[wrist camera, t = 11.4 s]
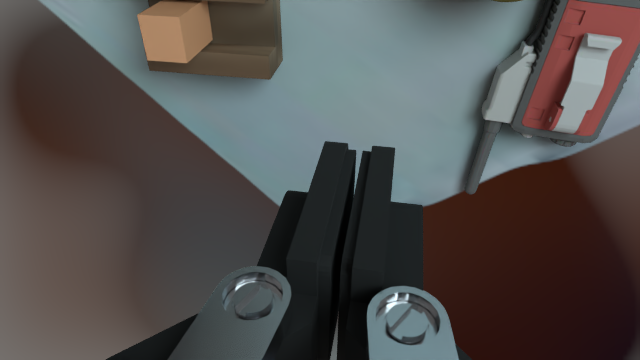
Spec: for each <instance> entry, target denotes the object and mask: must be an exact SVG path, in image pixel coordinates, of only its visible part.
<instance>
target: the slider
mask: <svg viewBox="0 0 640 360" xmlns="http://www.w3.org/2000/svg"><path fill="white" fill-rule="evenodd" d="M137 16H138V20H139V25H140V29H141V34H142V38H143V42H144V47H145V51H146V56H147V60H149V61H163V62H177V63H188V62H189V61H190V60H191V59H192V58H193V57H194V56H196V55H197V54H198V53H199V52H200V51H201V50H202V49H203V48H204V47H205V46H207V45H208V44H209V43H210V42H211V41H212V40H213V38H212V31H211V23H210V16H209V9H208V2H207V1H202V0H162V1H160V2H158V3H157V4H155V5H153V6H151V7H150V8H148V9H146V10H145V11H143V12H141V13H139V14H138V15H137Z"/></svg>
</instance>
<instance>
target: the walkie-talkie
mask: <svg viewBox="0 0 640 360" xmlns="http://www.w3.org/2000/svg"><path fill="white" fill-rule="evenodd" d="M535 39H536V41H535V42H534V43H533V41H534V40H535ZM532 44H533V45H534V46H533V45H532ZM639 53H640V0H546V2H545V5H544V8H543V10H542V13H541V16H540V19H539V21H538V24H537V26H536V28H535V30H534V32H533V33H532V34H531V35H530V36H529V37H528V39H527V40H526V41H522V43H521V46H520V48H519V49H518V50H517V51H516V52H514V53H513V54H512V55H511V56H509V57H508V58H507V59H505V60H504V61H503V62H502V63H500V64H499V65H498V66H497V69H496V72H495V75H494V78H493V81H492V84H491V87H490V90H489V93H488V96H487V99H486V100H485V101H484V103H483V106H482V109H481V110H482V115H483V118H484V119H485V120H486V121H485V124H484V127H483V128H484V132H483V135H482V138H481V141H480V144H479V147H478V150H477V153H476V156H475V159H474V162H473V165H472V168H471V171H470V174H469V177H468V180H467V183H466V186H465V191H466V192H467V193H468V194H473V193H474V192H476V190H477V187H478V184H479V181H480V178H481V176H482V173H483V170H484V167H485V164H486V162H487V159H488V156H489V153H490V150H491V148H492V145H493V142H494V139H495V136H496V134H497V133H498V132H499V131H500V128H501V125H502V122H504V123H510V124H511V125H510V127H511V128H513V129H514V131H517V132H520V133H522V135H523V136H524V137H526V138H531V137H532V136H533V135H534V136H541V137H547V138H550V139H551V140H552V141H553V142H554V143H556V144H559V145H561V146H573V145H575V144H576V143H577V142H579V143H591V142H592V141H594V140H595V139H597V138H598V136H599V134H600V132H601V130H602V128H603V126H604V124H605V122H606V120H607V118H608V116H609V114H610V112H611V110H612V108H613V106H614V104H615V102H616V100H617V99H618V97H619V95H620V93H621V91H622V89H623V84H624V83H625V82H626V81H627V80H626V79H627V77H628V75H630V71H631V69H632V68H633V67H634V63H635V61H636V60H637V59H638V58H637V57H638V55H639Z"/></svg>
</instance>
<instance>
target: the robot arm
mask: <svg viewBox="0 0 640 360" xmlns="http://www.w3.org/2000/svg"><path fill="white" fill-rule="evenodd" d="M394 156H395V148H391V147H381V146H372V151H371V152H370V151H363V153H362V158H361V163H360V168H359V173H358V179H357V184H356V189H355V194H354V183H355V165H356V150H349V149H348V143H338V142H327V141H326V142H325V143H324V146H323V149H322V152H321V155H320V158H319V161H318V164H317V167H316V170H315V173H314V176H313V179H312V182H311V185H310V188H309V192H299V191H289V190H288V191H287V192H286V194H285V196H284V198H283V201H282V203H281V206H280V209H279V211H278V214H277V216H276V219H275V221H274V224H273V226H272V229H271V231H270V234H269V236H268V239H267V242H266V244H265V247H264V249H263V252H262V254H261V257H260V259H259V262H258V264H257V266H254V267H245V268H242V269H240V270H237V271H234V272H233V273H231V274H229V275H228V276H226V277H225V278H224V279H223V280H222V281H221V282H220V283H219V284H218V286H217V288H216V289H215V290H214V292H213V293H212V295H211V296H210V298H209V299H208V301H207V302H206V304H205V305H204V306H203V308H202V309H201V311H200V312H199V314H196V315H194V316H192V317H190V318H188V319H186V320H184V321H182V322H180V323H178V324H176V325H174V326H172V327H170V328H168V329H166V330H164V331H162V332H160V333H158V334H156V335H154V336H152V337H150V338H148V339H146V340H144V341H142V342H140V343H138V344H136V345H134V346H132V347H130V348H128V349H126V350H123V351H122V352H120V353H118V354H115V355H114V356H111V357H110V358H108V359H106V360H330V356H331V351H332V345H333V340H334V334H335V328H336V323H337V317H338V312H339V319H338V344H337V360H472V359H471V358H470V357H469V356H468V355H466V354H465V353H464V352H463V351H462V350H461V349H460V348H459V347H458V346H457V345H456V344H455V342H454V338H453V334H452V330H451V325H450V321H449V318H448V315H447V313H446V311H445V309H444V307H443V306H442V305H441V304H440V302H439V301H438V300H437V299H436V298H434V297H433V296H431V295H430V294H429V293H427V292H425V291H423V206H422V205H416V204H407V203H398V202H390V201H391V190H392V179H393V167H394Z"/></svg>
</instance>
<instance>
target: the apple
mask: <svg viewBox="0 0 640 360" xmlns="http://www.w3.org/2000/svg"><path fill="white" fill-rule="evenodd" d="M493 1H498V2H516V1H521V0H493Z"/></svg>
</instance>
